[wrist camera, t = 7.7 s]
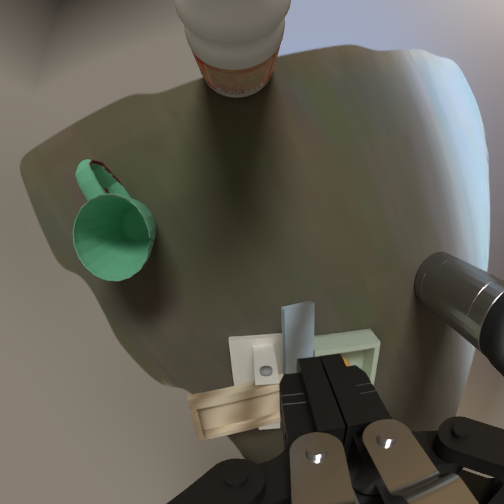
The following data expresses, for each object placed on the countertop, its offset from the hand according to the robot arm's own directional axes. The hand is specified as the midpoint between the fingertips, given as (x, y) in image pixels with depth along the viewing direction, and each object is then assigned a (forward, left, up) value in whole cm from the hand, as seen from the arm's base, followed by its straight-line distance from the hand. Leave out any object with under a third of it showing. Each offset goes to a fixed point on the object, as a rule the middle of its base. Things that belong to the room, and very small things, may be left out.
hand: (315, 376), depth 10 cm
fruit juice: (+2, -22, -32) cm, 39 cm away
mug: (+18, -4, -32) cm, 37 cm away
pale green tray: (-11, +22, -32) cm, 40 cm away
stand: (+1, +22, -32) cm, 39 cm away
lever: (+3, +17, -24) cm, 29 cm away
